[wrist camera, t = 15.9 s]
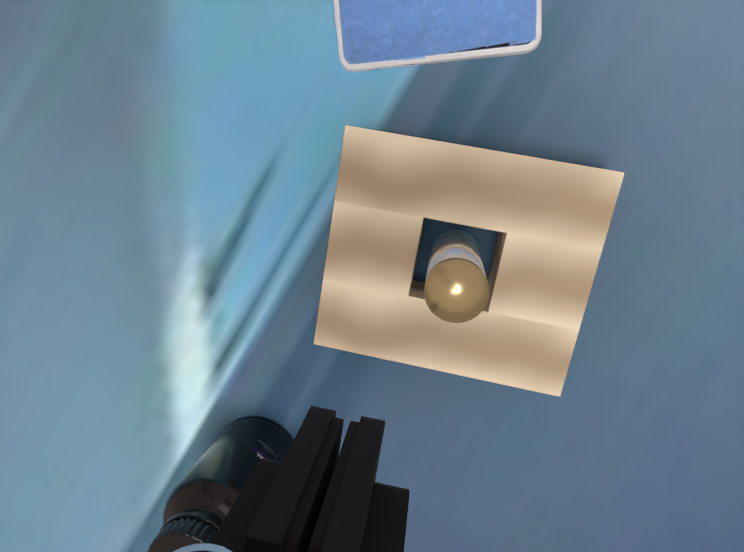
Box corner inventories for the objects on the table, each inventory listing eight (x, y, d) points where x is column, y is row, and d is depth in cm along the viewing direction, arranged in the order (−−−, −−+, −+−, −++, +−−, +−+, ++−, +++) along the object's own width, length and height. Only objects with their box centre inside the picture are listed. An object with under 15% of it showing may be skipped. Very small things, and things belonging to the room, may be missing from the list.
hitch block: (357, 127, 34) (345, 125, 30) (604, 169, 33) (624, 172, 29) (327, 324, 38) (313, 343, 34) (548, 370, 36) (559, 396, 33)
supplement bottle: (311, 435, 40) (256, 550, 29) (283, 502, 42) (222, 636, 31) (231, 400, 41) (145, 500, 29) (207, 469, 43) (117, 588, 31)
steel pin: (436, 225, 35) (430, 255, 26) (483, 234, 35) (495, 267, 25) (427, 270, 36) (418, 315, 26) (472, 279, 36) (481, 328, 26)
